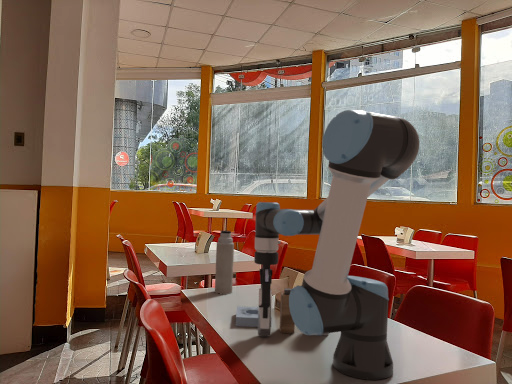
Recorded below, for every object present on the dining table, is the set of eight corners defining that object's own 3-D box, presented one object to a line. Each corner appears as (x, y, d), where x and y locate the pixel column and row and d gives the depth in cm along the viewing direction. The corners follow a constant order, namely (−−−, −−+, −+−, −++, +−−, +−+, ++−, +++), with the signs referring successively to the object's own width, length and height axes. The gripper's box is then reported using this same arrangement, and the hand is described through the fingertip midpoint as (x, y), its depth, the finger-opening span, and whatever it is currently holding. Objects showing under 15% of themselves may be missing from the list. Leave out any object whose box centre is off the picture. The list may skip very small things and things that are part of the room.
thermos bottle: (227, 289, 189) (229, 230, 190) (235, 293, 182) (237, 231, 183) (211, 290, 185) (214, 230, 186) (219, 294, 178) (221, 231, 179)
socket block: (271, 327, 135) (271, 318, 135) (235, 326, 135) (235, 317, 135) (268, 315, 149) (269, 307, 149) (236, 314, 149) (237, 306, 149)
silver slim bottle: (270, 336, 124) (272, 285, 124) (257, 336, 124) (259, 285, 124) (270, 332, 128) (271, 283, 128) (257, 332, 128) (259, 282, 128)
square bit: (294, 333, 130) (295, 290, 130) (280, 332, 130) (282, 290, 130) (292, 328, 134) (294, 288, 135) (279, 328, 134) (281, 287, 135)
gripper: (280, 254, 118) (278, 335, 117) (276, 248, 135) (274, 318, 134) (255, 254, 118) (252, 334, 117) (254, 247, 135) (252, 318, 134)
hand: (264, 325), depth 126 cm, fingers closed on silver slim bottle, 4 cm apart
